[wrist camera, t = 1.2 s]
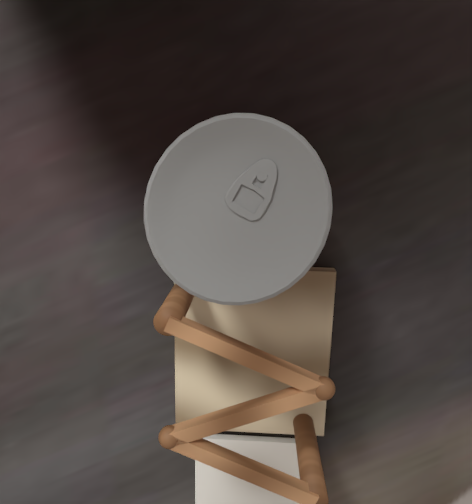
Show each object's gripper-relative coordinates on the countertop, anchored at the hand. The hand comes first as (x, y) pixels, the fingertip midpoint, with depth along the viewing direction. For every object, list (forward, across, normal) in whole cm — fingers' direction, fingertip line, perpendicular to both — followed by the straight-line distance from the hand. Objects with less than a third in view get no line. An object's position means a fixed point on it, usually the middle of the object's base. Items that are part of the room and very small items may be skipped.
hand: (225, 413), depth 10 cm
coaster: (+19, +1, -20) cm, 27 cm away
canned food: (+20, 0, +3) cm, 20 cm away
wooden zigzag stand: (+19, 0, -8) cm, 21 cm away
